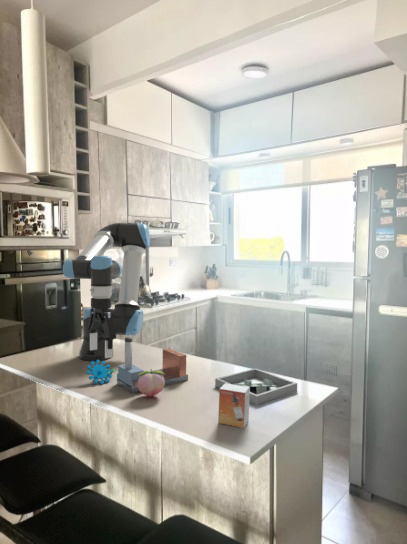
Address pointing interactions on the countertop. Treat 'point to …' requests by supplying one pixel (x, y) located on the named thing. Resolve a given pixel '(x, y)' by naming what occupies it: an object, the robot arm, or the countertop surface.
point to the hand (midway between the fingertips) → (100, 353)
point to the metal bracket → (258, 385)
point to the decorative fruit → (151, 382)
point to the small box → (234, 405)
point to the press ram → (128, 365)
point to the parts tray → (261, 398)
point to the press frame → (165, 370)
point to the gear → (100, 371)
